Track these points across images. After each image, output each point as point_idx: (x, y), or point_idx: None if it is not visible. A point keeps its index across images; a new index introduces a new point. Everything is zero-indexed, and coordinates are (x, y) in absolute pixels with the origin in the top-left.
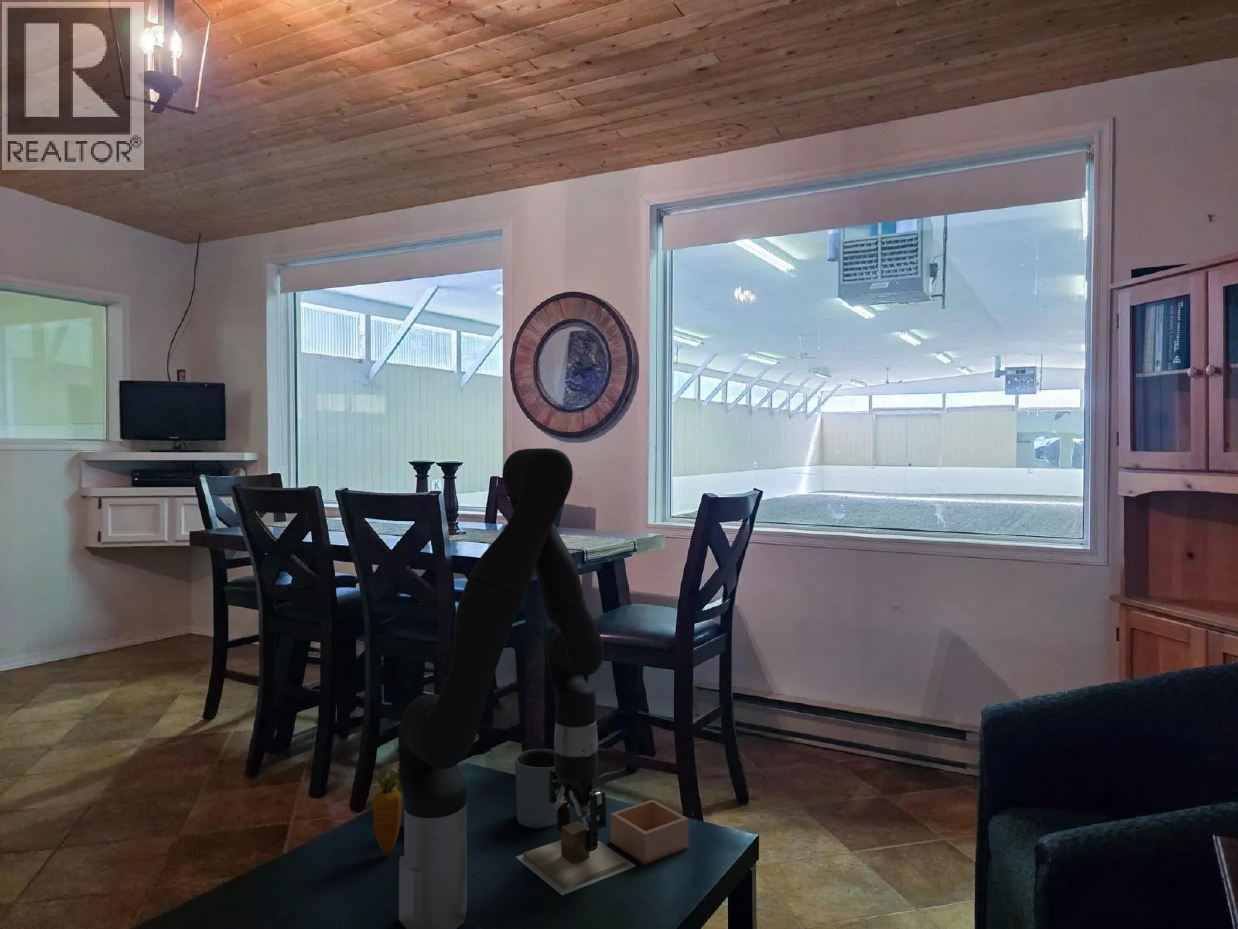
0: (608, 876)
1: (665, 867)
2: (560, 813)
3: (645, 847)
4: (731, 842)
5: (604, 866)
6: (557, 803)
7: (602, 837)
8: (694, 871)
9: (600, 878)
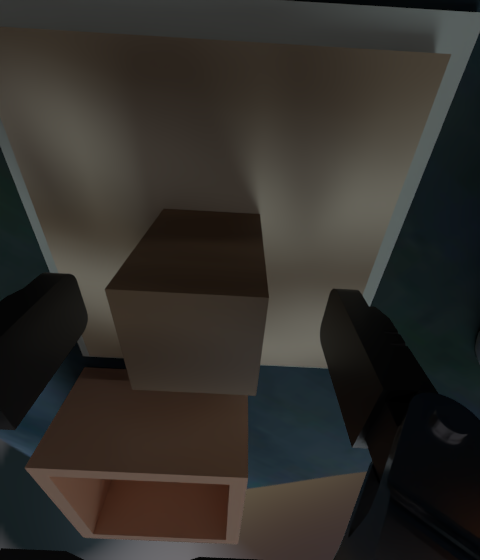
0: (51, 270)
1: (62, 392)
2: (374, 387)
3: (54, 420)
4: None
5: (81, 289)
6: (452, 477)
7: (294, 380)
8: None
9: (44, 241)
